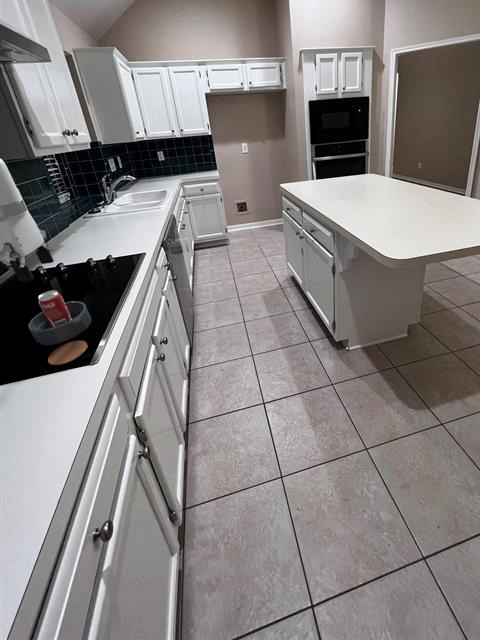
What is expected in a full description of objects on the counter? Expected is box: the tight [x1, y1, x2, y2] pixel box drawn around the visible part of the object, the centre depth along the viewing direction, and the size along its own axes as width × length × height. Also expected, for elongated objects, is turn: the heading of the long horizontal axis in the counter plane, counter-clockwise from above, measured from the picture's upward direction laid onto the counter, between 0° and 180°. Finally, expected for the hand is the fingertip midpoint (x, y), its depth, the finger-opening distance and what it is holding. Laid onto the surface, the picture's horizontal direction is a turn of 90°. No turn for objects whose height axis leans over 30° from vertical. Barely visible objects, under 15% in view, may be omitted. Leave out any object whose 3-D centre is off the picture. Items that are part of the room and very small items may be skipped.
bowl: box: [27, 301, 93, 346], centre depth 92 cm, size 14×14×6 cm
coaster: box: [47, 340, 88, 366], centre depth 84 cm, size 9×9×1 cm
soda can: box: [38, 289, 72, 328], centre depth 90 cm, size 5×5×12 cm
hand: (38, 271), depth 85 cm, fingers open, 9 cm apart
